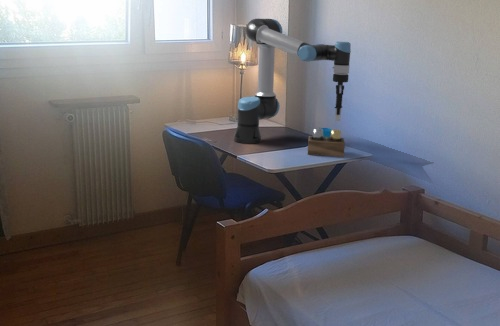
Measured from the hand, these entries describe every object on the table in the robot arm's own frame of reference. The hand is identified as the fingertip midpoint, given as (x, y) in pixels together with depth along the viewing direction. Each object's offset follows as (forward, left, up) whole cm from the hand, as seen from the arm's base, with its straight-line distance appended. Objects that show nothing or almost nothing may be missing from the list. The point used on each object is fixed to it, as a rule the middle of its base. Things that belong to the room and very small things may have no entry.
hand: (337, 120), depth 286 cm
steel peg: (0, -9, -12) cm, 15 cm away
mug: (-19, -4, -17) cm, 26 cm away
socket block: (0, -5, -17) cm, 18 cm away
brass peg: (0, 0, -12) cm, 12 cm away
